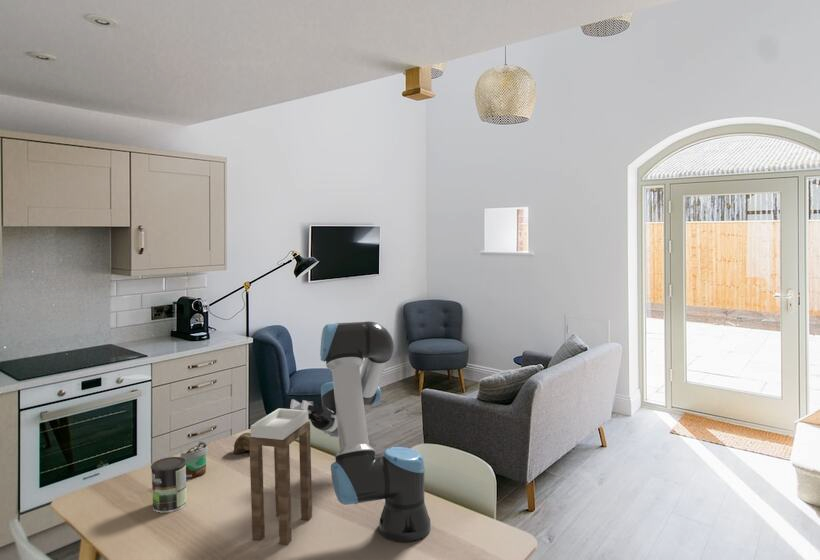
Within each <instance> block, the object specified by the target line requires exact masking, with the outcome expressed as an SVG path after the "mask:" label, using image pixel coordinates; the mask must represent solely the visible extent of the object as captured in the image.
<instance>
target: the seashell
mask: <svg viewBox="0 0 820 560" xmlns="http://www.w3.org/2000/svg"><path fill="white" fill-rule="evenodd" d="M249 437H251V432H249V431H247V432H244V433H242V434H241V435H239V436H238V437H237V438H236V440H235V441H234V444H233V445H234V446H233V451H232V452H233V453H235V454H239V453H243V452H246V451H249V452H250V446H249Z"/></svg>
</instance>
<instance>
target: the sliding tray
mask: <svg viewBox="0 0 820 560" xmlns="http://www.w3.org/2000/svg"><path fill="white" fill-rule="evenodd" d="M306 401H307V402H308V403H310V404H312V405H314V401H309V400H306ZM300 403H301V404H299V405H298V406H296V407H295V408H293V409H291V408H282V407H281V408H280V407H279V408H277V409H275V410H274V411H271V413H269V414H266V416H264V417H262V418H261V419H259V420H257V421H256V422H254V423H253V424H251V425H250V433H251V437H257V438H268V439H278V440H284V439H285V438H286V437H288V436H289V435H290V434H292V433H293V432H294V431H296V430H297V429H298V428H300V427H301V426H302V425H304V424H305V423H306V422H310V419H308V411H306V410H302V409H301V406H302V402H300Z"/></svg>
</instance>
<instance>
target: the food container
mask: <svg viewBox="0 0 820 560" xmlns="http://www.w3.org/2000/svg"><path fill="white" fill-rule="evenodd" d="M198 442H199V443H198V444H197V445H195V446H193V447H191V448H189V449H188V450H187V451H186V452H181V453H180V456H179V457H182V458H184V459H186V480H192V479H193V478H194V479H197V477H198V478H201V477H202V476H204V475H205V474H206V471H207V470H206V469H207V453H208V452H209V447H208V445H207V443H206V442H204V441H198Z"/></svg>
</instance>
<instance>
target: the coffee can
mask: <svg viewBox="0 0 820 560" xmlns="http://www.w3.org/2000/svg"><path fill="white" fill-rule="evenodd" d="M150 469H151V488H152V491H151V492H152V510H153V512H155V511H156V512H155V513H158V512H160V513H159V514H169V513H173V512H174V513H175V512H177V511H179V510H181V509H183V508H185V506H186V505H187V504H188V497H187V492H188V491H187V479H186V459H184V458H182V457H180V456H169V457H163V458H161V459H158V460H156V461H154V462H153V463H152V464H151V465H150Z"/></svg>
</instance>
